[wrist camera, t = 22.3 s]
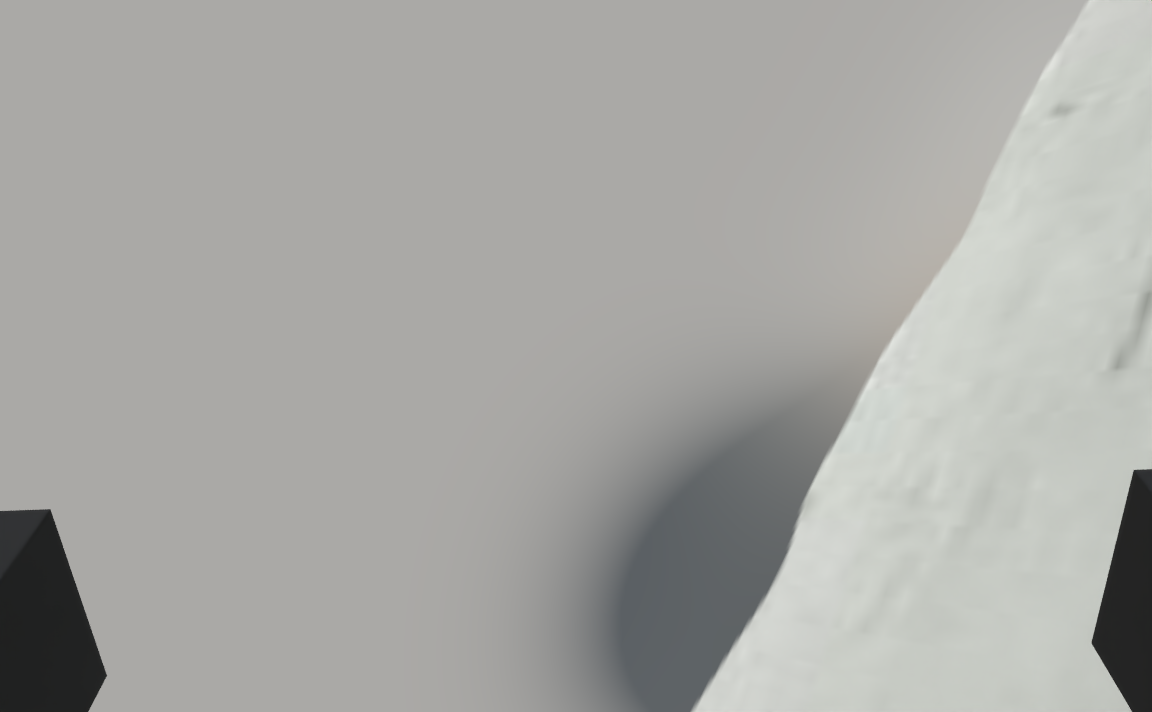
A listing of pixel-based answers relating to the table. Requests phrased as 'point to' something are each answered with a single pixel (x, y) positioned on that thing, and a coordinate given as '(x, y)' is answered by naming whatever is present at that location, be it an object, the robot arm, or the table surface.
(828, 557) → the table surface
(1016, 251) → the table surface
